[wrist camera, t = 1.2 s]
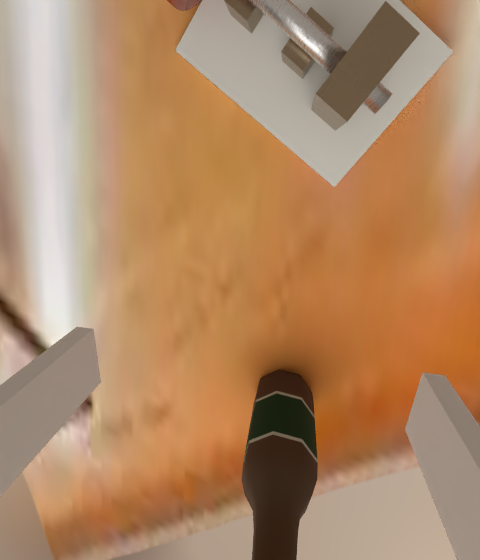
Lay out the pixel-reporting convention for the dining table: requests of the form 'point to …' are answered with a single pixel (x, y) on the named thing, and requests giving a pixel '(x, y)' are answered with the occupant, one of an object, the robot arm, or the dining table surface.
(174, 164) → the dining table surface
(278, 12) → the disc-ended rod
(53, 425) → the robot arm
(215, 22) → the base board
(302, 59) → the eye bracket
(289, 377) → the beer bottle
